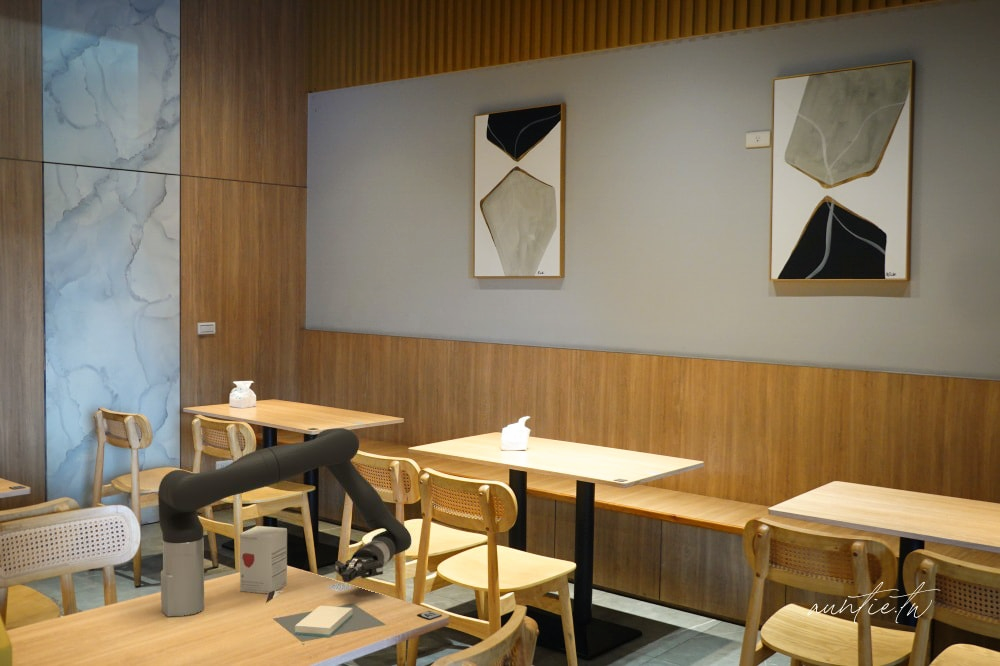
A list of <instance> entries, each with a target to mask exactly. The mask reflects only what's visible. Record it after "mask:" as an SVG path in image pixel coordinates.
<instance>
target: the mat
mask: <svg viewBox="0 0 1000 666" xmlns="http://www.w3.org/2000/svg"><path fill="white" fill-rule="evenodd" d="M336 607H346V608H352V617H351V618H350V619H349V620H348V621H347V622H346V623H345V624H344V625H342V626H341V627H340V628H339V629H338V630H337V631H336V632H335V633H334V634H333V635H331V636H330V637H333V636H338V635H343V634H347V633H351V632H352V633H353V632H359V631H362V630H366V629H371V628H372V629H373V628H376V627H382V626H386V625H387V624H386V623H385V622H382V621H381V620H380V619H378V618H377V617H375V616H374V615H372V614H370V613H369V612H367V611H366V610H364V609H362V608H361V607H359V606H358V605H356V604H355V603H349V604H343V605H338V606H337V605H336ZM313 611H314V610H310V611H307V612H302V613H296V614H289V615H285V616H279V617H275V618H272V620H274V621H275V622H276V623H278V624H279V625H280V626H282V628H284V629H285V630H286V631H288V632H289V633H290V634H291V635H293V637H295V638H296V639H298V640H299V641H300V642H301V643H305V642H307V641H308V642H309V641H313V640H319V639H324V638H325V637H320V636H306V635H295V625H296V624H298V623H299V622H300V621H301V620H303V619H304V618H305V617H306V616H308V615H309V614H310V613H311V612H313Z"/></svg>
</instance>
